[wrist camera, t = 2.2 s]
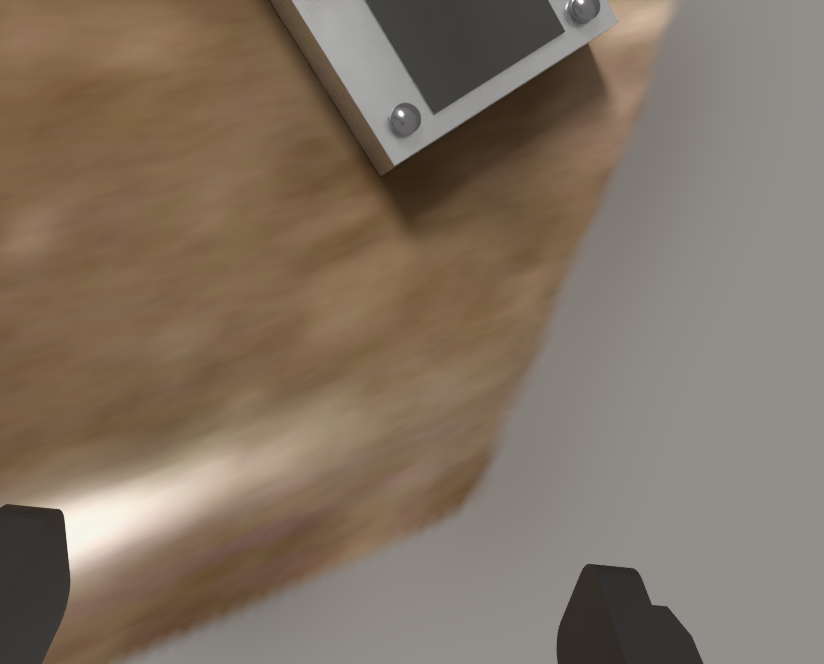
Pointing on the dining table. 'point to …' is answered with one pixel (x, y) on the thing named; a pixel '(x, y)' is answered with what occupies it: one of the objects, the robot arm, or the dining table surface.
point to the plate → (431, 59)
